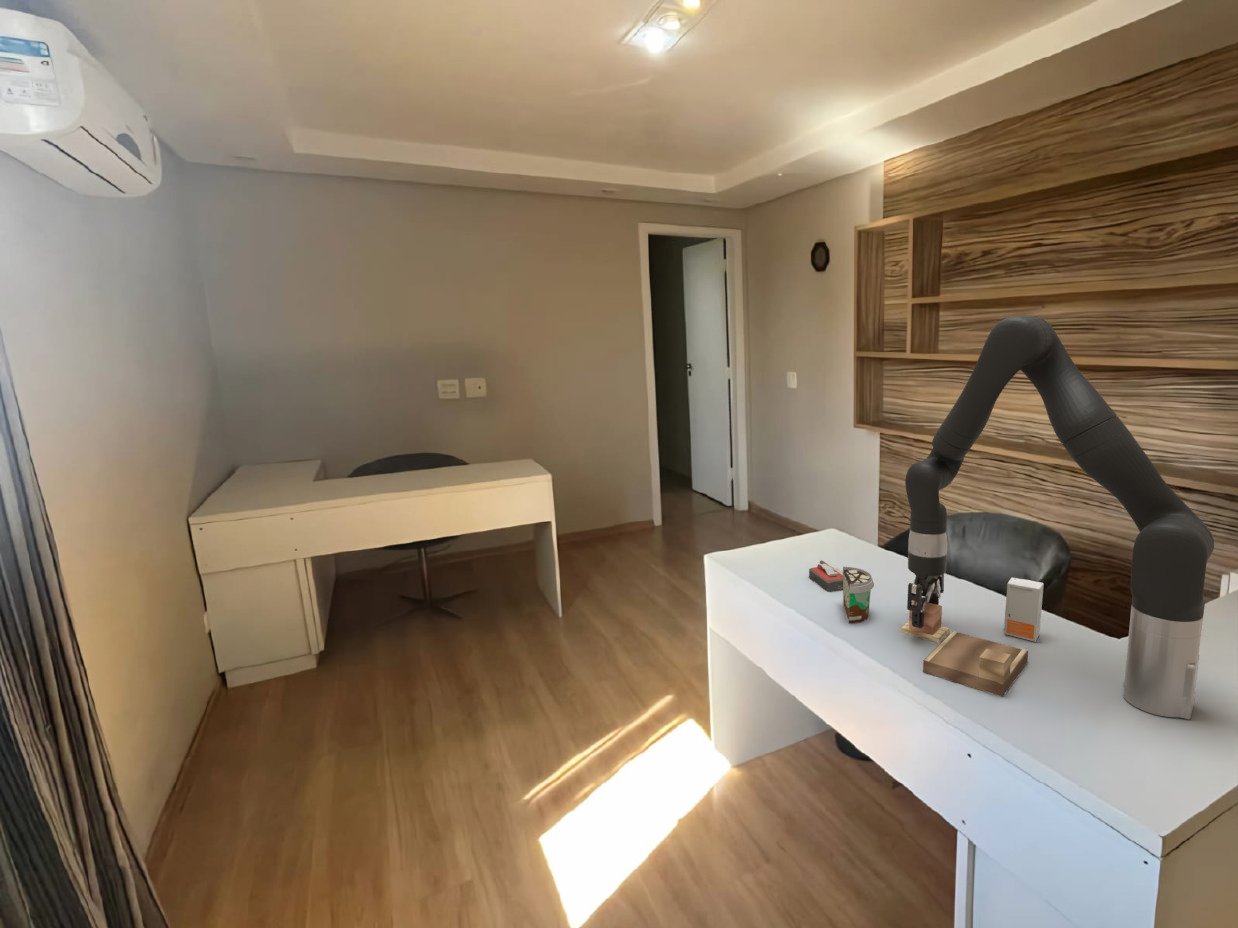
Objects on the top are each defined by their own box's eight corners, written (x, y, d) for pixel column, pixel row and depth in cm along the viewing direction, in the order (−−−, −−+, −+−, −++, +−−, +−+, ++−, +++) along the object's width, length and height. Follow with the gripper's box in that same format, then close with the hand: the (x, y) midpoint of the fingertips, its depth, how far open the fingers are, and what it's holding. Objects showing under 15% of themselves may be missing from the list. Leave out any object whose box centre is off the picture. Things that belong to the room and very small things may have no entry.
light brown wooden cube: (1010, 674, 119) (1010, 654, 118) (1003, 683, 116) (1003, 662, 115) (986, 668, 122) (986, 648, 121) (979, 676, 119) (979, 656, 118)
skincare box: (1003, 634, 139) (1006, 582, 136) (1008, 627, 142) (1011, 576, 140) (1036, 642, 135) (1039, 588, 132) (1040, 635, 138) (1044, 582, 135)
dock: (1027, 662, 127) (1028, 650, 127) (1002, 696, 116) (1003, 683, 116) (952, 641, 137) (952, 630, 137) (922, 671, 126) (923, 659, 126)
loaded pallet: (949, 633, 141) (950, 606, 140) (938, 643, 137) (939, 616, 136) (911, 623, 147) (912, 597, 146) (901, 632, 143) (901, 606, 142)
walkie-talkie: (861, 591, 167) (824, 565, 186) (861, 575, 166) (824, 551, 186) (829, 595, 166) (795, 569, 185) (829, 579, 165) (795, 554, 184)
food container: (878, 626, 146) (878, 585, 144) (849, 625, 148) (849, 584, 146) (868, 604, 158) (869, 565, 156) (842, 603, 159) (842, 565, 157)
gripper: (933, 563, 131) (930, 636, 134) (957, 544, 141) (955, 613, 144) (896, 555, 136) (894, 626, 139) (922, 538, 146) (920, 605, 149)
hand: (925, 620), depth 142 cm, fingers open, 8 cm apart
